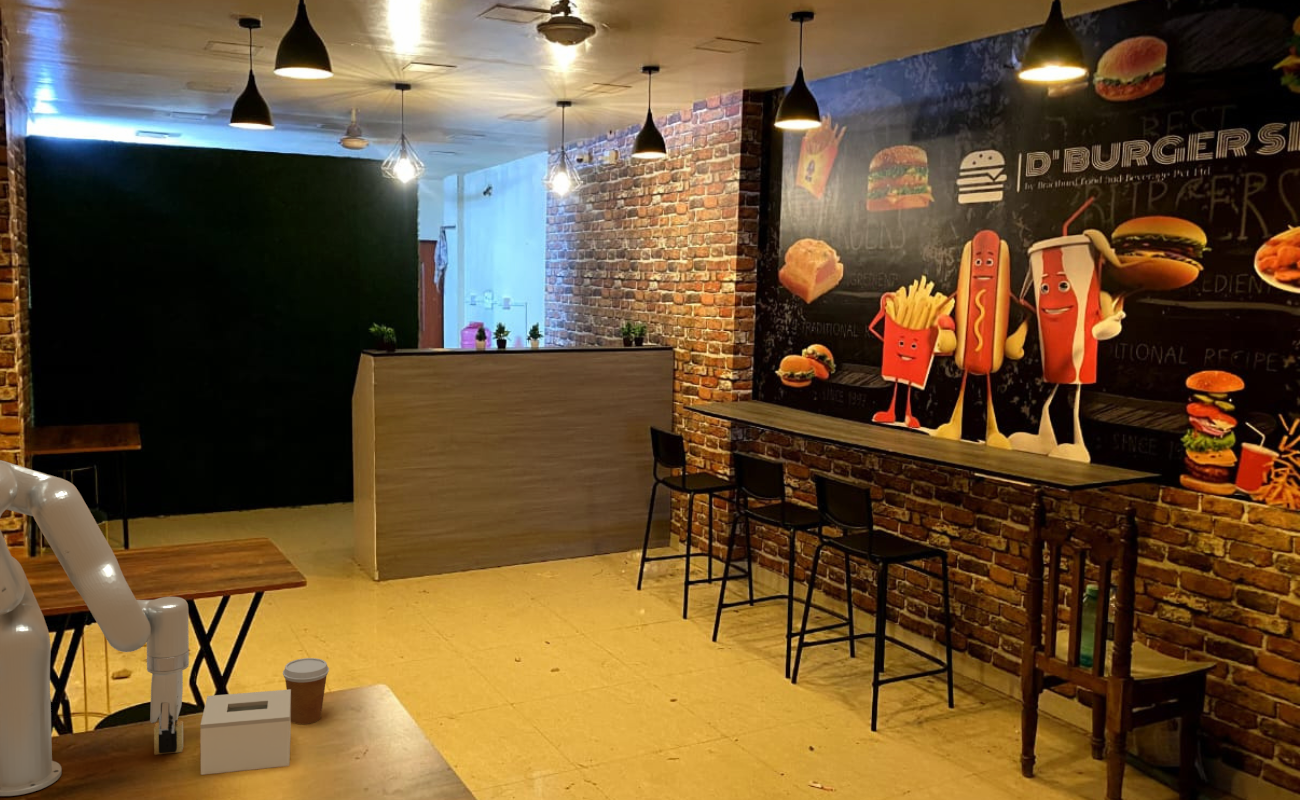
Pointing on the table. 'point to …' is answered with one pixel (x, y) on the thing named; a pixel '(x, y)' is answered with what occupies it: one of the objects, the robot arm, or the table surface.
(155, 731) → the wooden block
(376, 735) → the table surface
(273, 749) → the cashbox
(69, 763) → the table surface
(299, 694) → the disposable coffee cup
